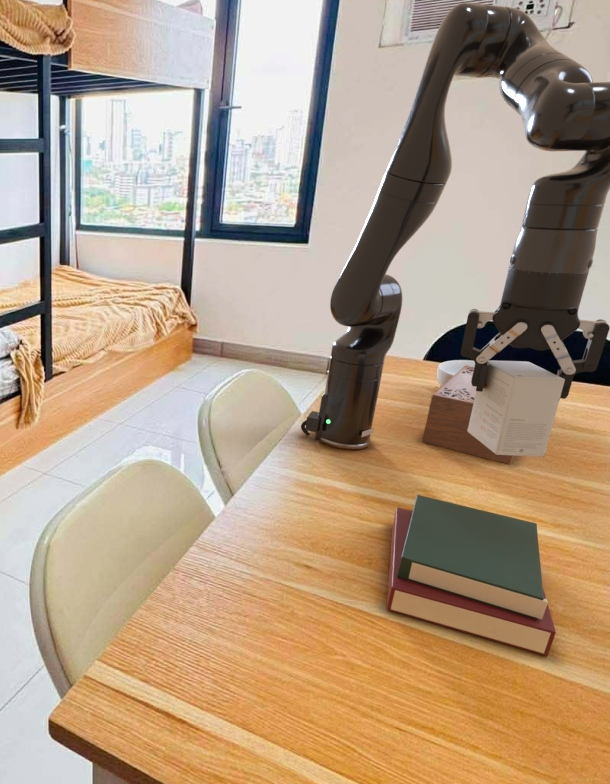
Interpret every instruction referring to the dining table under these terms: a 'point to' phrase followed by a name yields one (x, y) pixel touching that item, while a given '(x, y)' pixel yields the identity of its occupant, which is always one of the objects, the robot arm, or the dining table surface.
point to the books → (470, 573)
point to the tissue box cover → (456, 418)
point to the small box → (516, 408)
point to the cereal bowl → (451, 369)
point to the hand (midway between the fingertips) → (515, 394)
